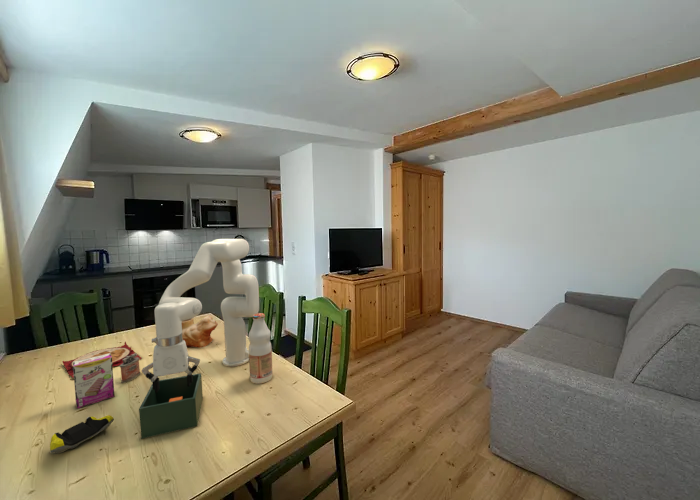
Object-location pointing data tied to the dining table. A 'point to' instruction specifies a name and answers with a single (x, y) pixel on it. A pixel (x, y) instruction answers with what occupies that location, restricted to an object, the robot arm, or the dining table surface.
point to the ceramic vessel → (198, 331)
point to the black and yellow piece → (79, 433)
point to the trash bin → (171, 406)
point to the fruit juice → (260, 350)
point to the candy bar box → (93, 380)
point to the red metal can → (130, 368)
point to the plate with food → (115, 352)
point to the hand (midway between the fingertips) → (173, 387)
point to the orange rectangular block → (176, 399)
